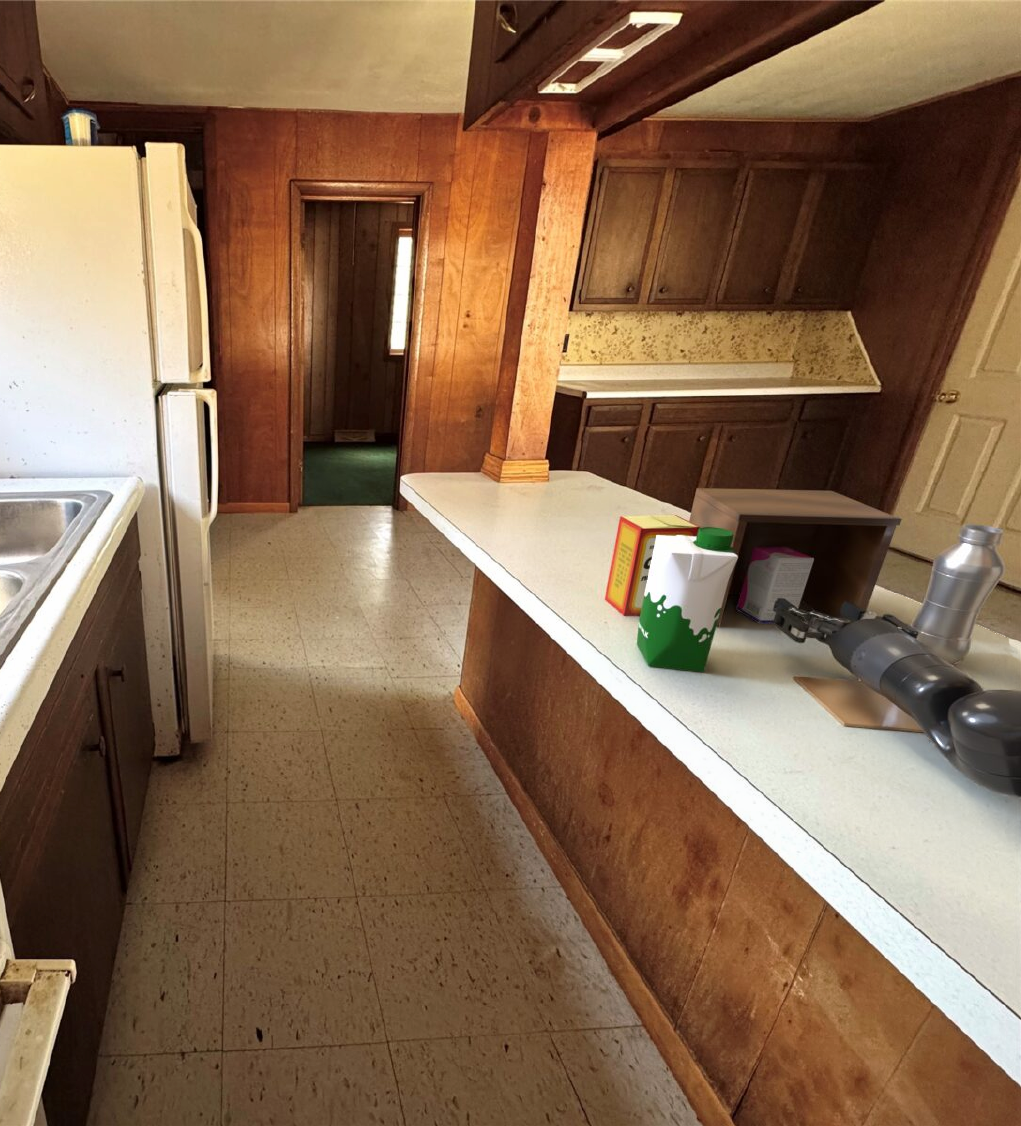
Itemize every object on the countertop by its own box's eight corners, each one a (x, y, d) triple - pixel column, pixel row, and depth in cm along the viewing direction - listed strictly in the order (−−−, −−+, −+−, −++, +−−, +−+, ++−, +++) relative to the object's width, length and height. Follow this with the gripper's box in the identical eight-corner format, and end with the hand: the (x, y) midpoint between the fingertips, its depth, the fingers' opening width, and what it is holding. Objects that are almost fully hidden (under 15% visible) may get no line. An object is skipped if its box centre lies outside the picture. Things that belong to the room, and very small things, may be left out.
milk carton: (713, 676, 87) (749, 543, 80) (641, 668, 90) (669, 538, 82) (693, 647, 95) (724, 522, 87) (627, 640, 97) (652, 519, 90)
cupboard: (859, 636, 96) (902, 518, 89) (710, 627, 100) (739, 514, 93) (800, 594, 111) (833, 490, 104) (672, 588, 115) (695, 487, 108)
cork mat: (885, 684, 84) (886, 682, 84) (950, 734, 74) (951, 732, 74) (792, 678, 86) (793, 675, 86) (843, 725, 76) (844, 723, 76)
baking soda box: (623, 615, 105) (641, 526, 99) (604, 599, 111) (620, 514, 105) (679, 614, 105) (701, 524, 99) (657, 598, 111) (676, 512, 105)
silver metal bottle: (897, 643, 94) (946, 517, 87) (962, 658, 89) (1019, 527, 82) (894, 659, 90) (946, 528, 82) (962, 676, 85) (1023, 540, 78)
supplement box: (795, 623, 101) (816, 558, 97) (758, 624, 101) (777, 558, 97) (769, 608, 106) (787, 545, 102) (734, 608, 106) (751, 546, 102)
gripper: (814, 681, 80) (750, 624, 95) (945, 691, 77) (858, 630, 92) (831, 630, 77) (763, 579, 92) (968, 637, 75) (875, 584, 89)
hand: (811, 605), depth 92 cm, fingers open, 8 cm apart
